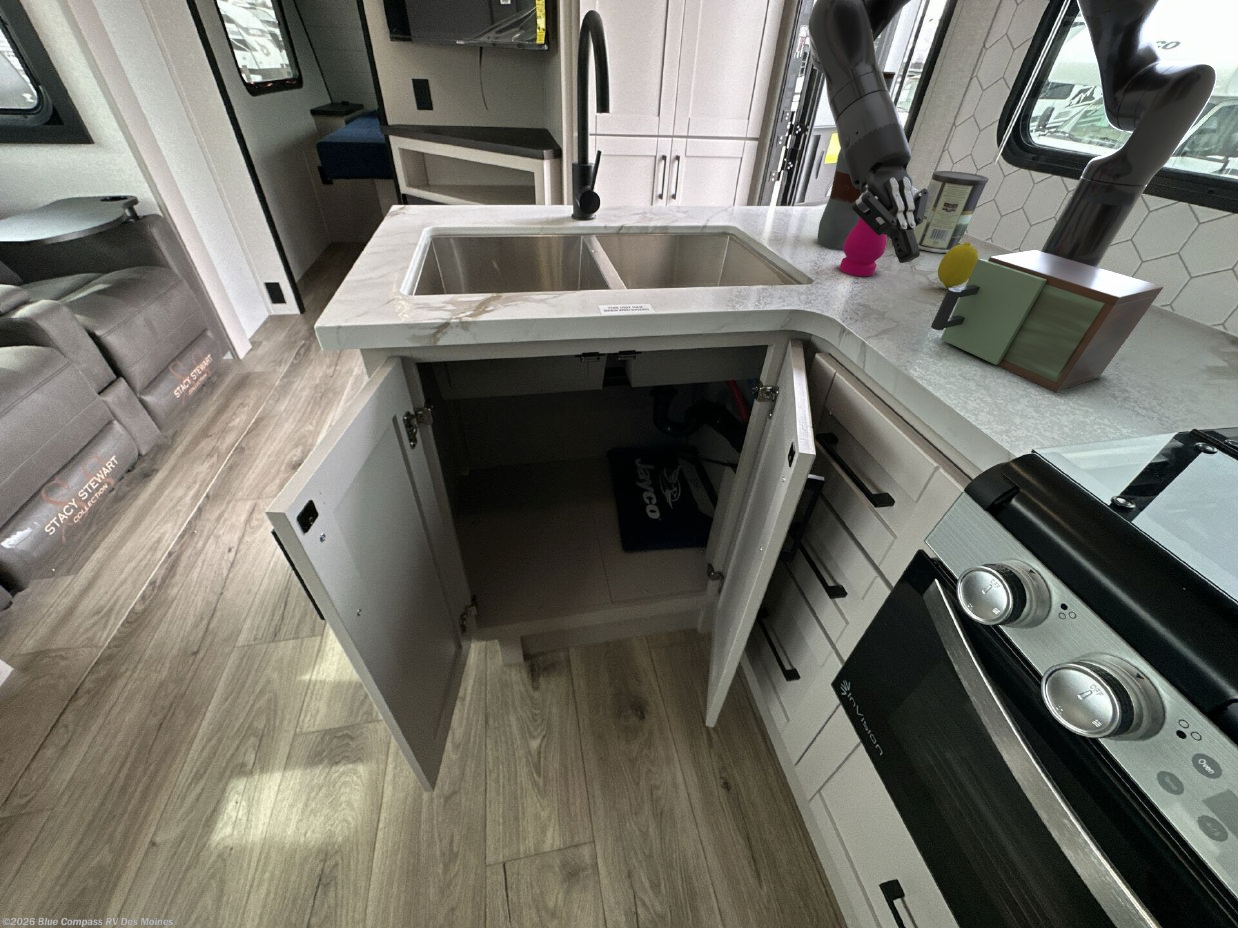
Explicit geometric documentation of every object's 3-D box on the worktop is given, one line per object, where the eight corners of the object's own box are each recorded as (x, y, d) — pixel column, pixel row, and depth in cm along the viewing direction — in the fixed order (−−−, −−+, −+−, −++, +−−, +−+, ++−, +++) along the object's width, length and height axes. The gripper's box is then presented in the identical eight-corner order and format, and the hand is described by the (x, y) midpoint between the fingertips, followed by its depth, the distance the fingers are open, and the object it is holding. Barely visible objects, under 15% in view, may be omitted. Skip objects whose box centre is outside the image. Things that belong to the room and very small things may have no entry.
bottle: (856, 241, 114) (910, 73, 96) (861, 253, 107) (921, 74, 89) (813, 236, 116) (857, 70, 97) (815, 247, 109) (864, 70, 90)
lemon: (968, 296, 90) (991, 248, 85) (935, 292, 90) (955, 245, 85) (958, 285, 94) (980, 239, 89) (927, 282, 95) (946, 236, 90)
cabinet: (1055, 392, 63) (1119, 297, 56) (948, 342, 74) (989, 256, 66) (1099, 377, 67) (1164, 286, 60) (991, 332, 77) (1034, 249, 70)
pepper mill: (857, 279, 94) (899, 153, 81) (828, 267, 99) (864, 146, 86) (884, 275, 97) (929, 152, 84) (854, 263, 102) (893, 146, 89)
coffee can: (943, 241, 118) (972, 172, 109) (966, 254, 110) (999, 181, 101) (899, 238, 118) (925, 169, 109) (919, 252, 110) (948, 178, 101)
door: (970, 372, 66) (1017, 285, 59) (915, 345, 71) (951, 263, 64) (999, 364, 68) (1047, 279, 61) (943, 338, 74) (981, 258, 67)
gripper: (859, 120, 65) (901, 249, 64) (928, 121, 70) (968, 241, 69) (816, 161, 72) (854, 278, 71) (882, 159, 77) (918, 268, 76)
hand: (910, 259), depth 70 cm, fingers closed
